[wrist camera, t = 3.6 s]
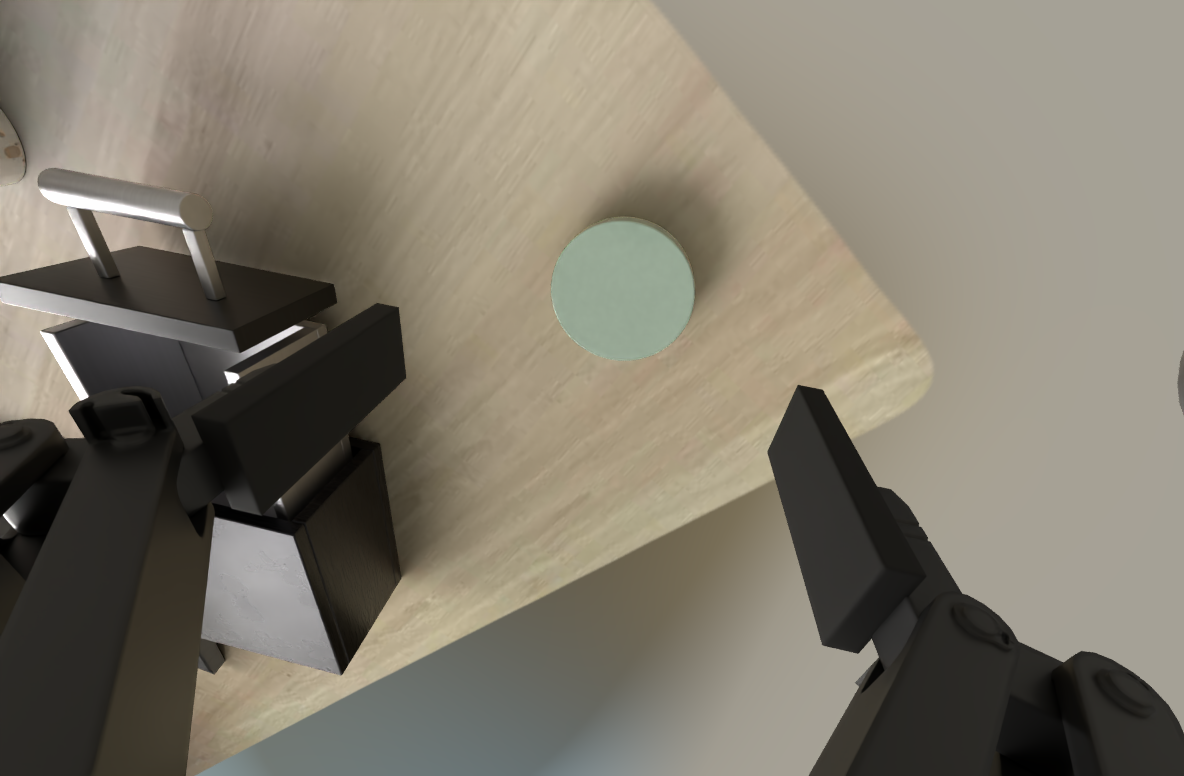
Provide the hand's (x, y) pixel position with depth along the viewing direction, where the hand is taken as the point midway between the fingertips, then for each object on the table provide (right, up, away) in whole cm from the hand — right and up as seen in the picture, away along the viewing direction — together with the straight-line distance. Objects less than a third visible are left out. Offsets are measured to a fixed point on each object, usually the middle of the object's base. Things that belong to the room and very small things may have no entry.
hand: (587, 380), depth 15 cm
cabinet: (-24, -10, +23) cm, 35 cm away
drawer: (-22, +3, +14) cm, 26 cm away
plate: (+2, +5, +9) cm, 11 cm away
